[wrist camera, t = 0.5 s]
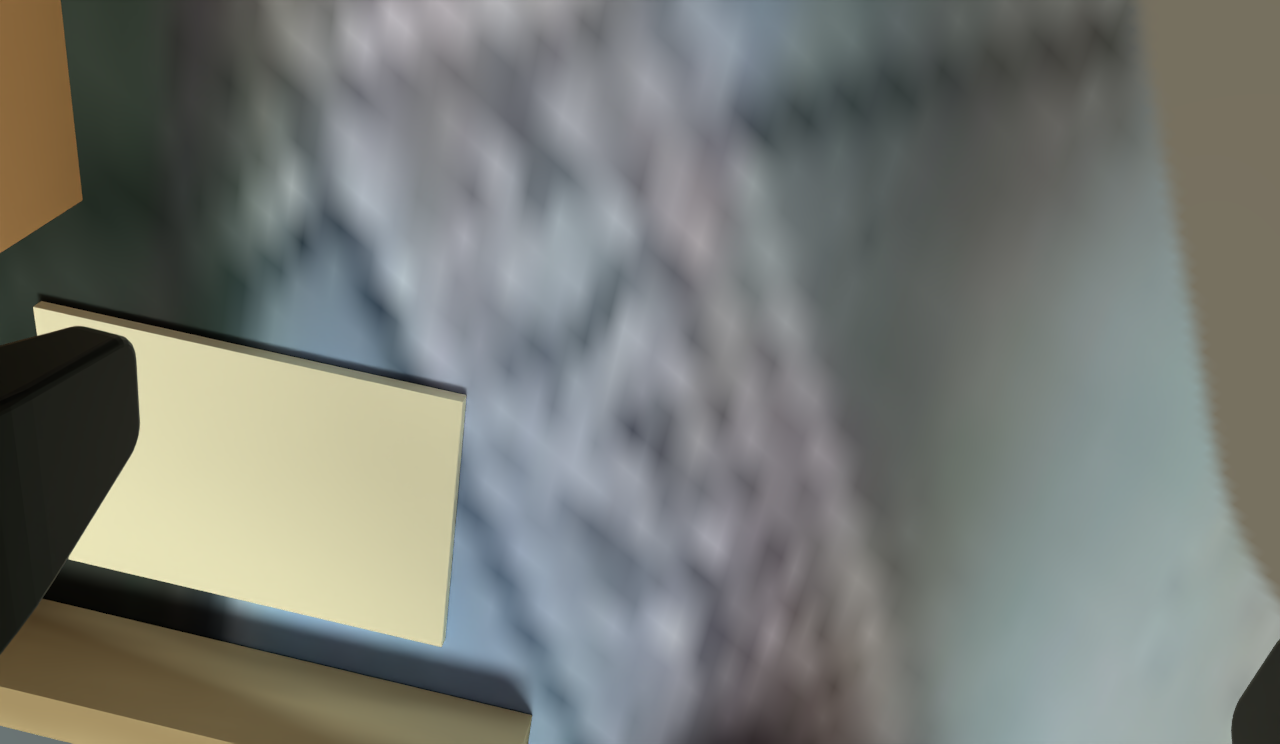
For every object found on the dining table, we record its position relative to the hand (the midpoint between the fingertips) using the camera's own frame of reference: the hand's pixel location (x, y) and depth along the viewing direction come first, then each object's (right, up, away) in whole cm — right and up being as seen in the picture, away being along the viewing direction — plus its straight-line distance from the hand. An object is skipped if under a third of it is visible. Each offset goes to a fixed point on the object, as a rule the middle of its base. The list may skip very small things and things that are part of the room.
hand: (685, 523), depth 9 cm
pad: (-10, -1, +19) cm, 21 cm away
